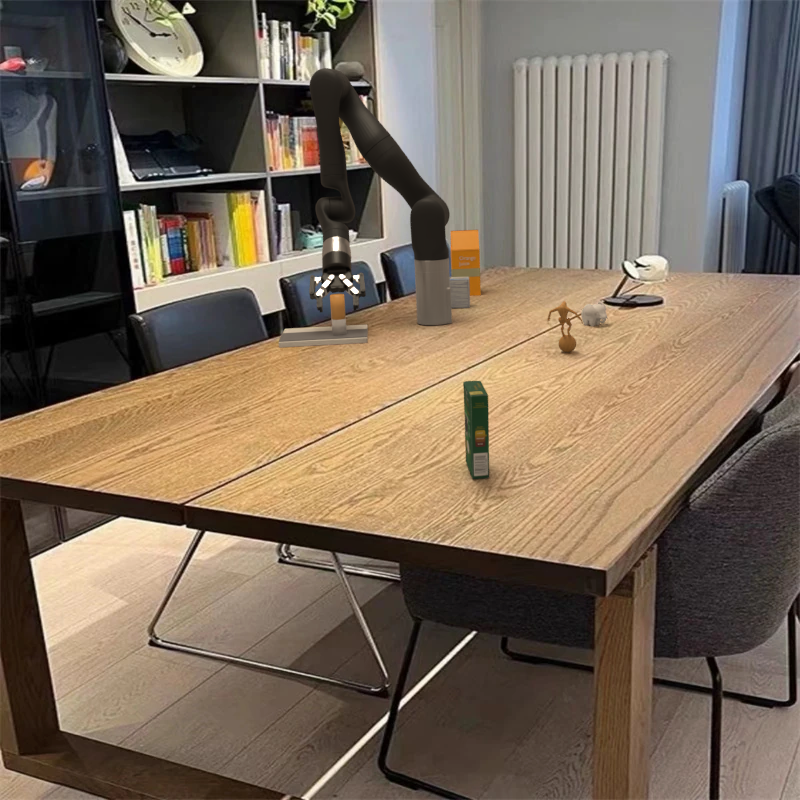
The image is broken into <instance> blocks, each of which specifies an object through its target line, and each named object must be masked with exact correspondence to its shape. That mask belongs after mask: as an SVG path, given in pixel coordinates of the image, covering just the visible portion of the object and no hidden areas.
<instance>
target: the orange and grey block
mask: <svg viewBox="0 0 800 800" xmlns="http://www.w3.org/2000/svg"><path fill="white" fill-rule="evenodd" d="M329 301H330V302H329V303H330V318H331V326H332V334H333V335H345V334H347V331H346V326H347V319H346V318H347V317H346V303H345V302H346V301H345V294H344V293H332V294H330V295H329Z"/></svg>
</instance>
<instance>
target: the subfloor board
mask: <svg viewBox="0 0 800 800" xmlns="http://www.w3.org/2000/svg"><path fill="white" fill-rule="evenodd" d="M368 329H369V328H368V324H350V325H348V324H346V331H347V334H345V335H333V334H332V325H331V326H314V327H312V326H311V327H310V326H309V327H293V328H292V327H291V328H284V330H283V332H282V334H281V335H280V338H279V340H278V347H279V348H293V347H296V348H297V347H309V346H310V347H312V346H328V345H329V346H331V345H351V344H367V343H368V339H369V338H368V334H369V330H368Z"/></svg>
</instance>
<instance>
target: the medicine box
mask: <svg viewBox="0 0 800 800" xmlns="http://www.w3.org/2000/svg"><path fill="white" fill-rule="evenodd" d="M450 288H451V309H467V308H468V309H470V307H471V296H470V284H469V277H452V276H450Z"/></svg>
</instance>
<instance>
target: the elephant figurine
mask: <svg viewBox="0 0 800 800" xmlns="http://www.w3.org/2000/svg"><path fill="white" fill-rule="evenodd" d="M580 310H581V315H580V317H581V319H582V322H583V325H584V326H588V325H589V326H591V327H595V326H599V325H600V324H604V323H605V322H607V319H609V318H608V315H607V308H606V304H605V303H604V302H603V301H601V300H599V301H598V302H597V303H594V304H591V303H586V304H585V306H583V308H582V309H580Z"/></svg>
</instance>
